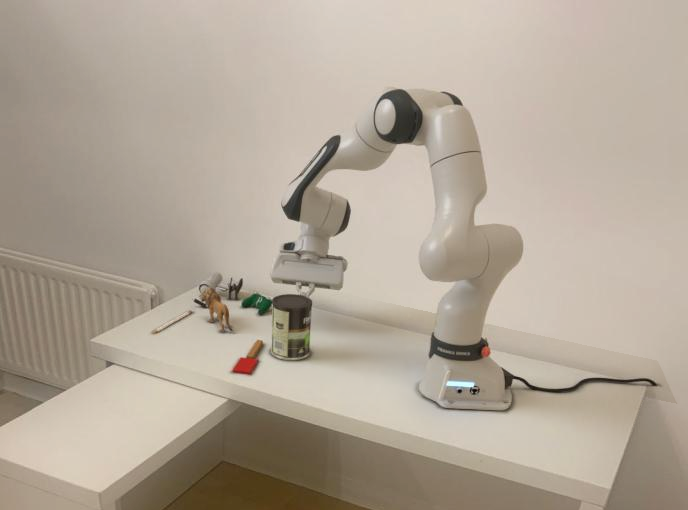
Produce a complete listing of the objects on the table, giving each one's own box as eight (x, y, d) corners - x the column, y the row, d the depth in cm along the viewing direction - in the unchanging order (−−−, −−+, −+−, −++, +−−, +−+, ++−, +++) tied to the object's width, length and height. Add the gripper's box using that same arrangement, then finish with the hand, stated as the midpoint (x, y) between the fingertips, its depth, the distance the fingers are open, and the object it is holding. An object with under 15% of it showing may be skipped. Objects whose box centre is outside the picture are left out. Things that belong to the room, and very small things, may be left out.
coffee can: (312, 347, 201) (315, 296, 193) (305, 362, 193) (308, 310, 185) (275, 342, 203) (277, 291, 195) (266, 357, 195) (267, 305, 186)
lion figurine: (197, 317, 215) (196, 287, 210) (213, 314, 218) (213, 283, 212) (225, 335, 206) (224, 303, 200) (241, 331, 208) (241, 299, 203)
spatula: (268, 345, 201) (268, 341, 201) (250, 374, 186) (250, 370, 185) (251, 343, 202) (251, 338, 201) (232, 372, 187) (232, 367, 186)
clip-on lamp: (221, 320, 222) (246, 289, 233) (220, 302, 217) (246, 271, 228) (185, 310, 224) (212, 280, 235) (184, 291, 219) (211, 261, 230)
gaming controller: (266, 320, 221) (277, 303, 221) (259, 313, 217) (270, 296, 218) (246, 310, 226) (257, 294, 226) (239, 304, 223) (250, 287, 223)
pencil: (191, 313, 218) (191, 310, 218) (154, 334, 204) (154, 331, 204) (189, 312, 218) (189, 310, 218) (152, 333, 204) (151, 331, 204)
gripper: (349, 263, 208) (341, 309, 206) (277, 255, 211) (268, 300, 209) (348, 251, 202) (339, 298, 200) (274, 243, 205) (265, 290, 203)
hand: (302, 299), depth 204 cm, fingers closed
